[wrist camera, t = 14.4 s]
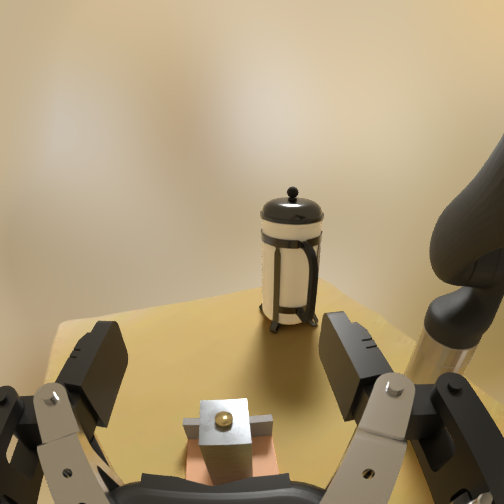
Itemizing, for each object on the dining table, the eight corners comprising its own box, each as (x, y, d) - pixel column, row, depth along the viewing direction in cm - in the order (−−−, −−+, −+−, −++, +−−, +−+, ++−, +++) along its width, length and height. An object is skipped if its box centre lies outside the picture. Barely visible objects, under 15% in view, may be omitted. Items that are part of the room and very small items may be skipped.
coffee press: (239, 323, 63) (235, 188, 53) (278, 295, 75) (280, 180, 64) (308, 351, 54) (321, 198, 43) (338, 314, 65) (352, 188, 55)
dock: (269, 428, 37) (270, 406, 34) (282, 500, 25) (286, 487, 22) (189, 432, 36) (182, 409, 33) (187, 505, 24) (176, 491, 21)
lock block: (249, 448, 32) (246, 395, 28) (253, 484, 26) (251, 440, 22) (212, 450, 32) (199, 396, 27) (213, 485, 26) (197, 442, 22)
